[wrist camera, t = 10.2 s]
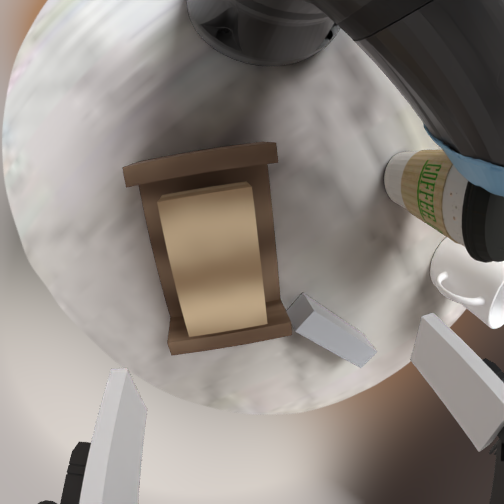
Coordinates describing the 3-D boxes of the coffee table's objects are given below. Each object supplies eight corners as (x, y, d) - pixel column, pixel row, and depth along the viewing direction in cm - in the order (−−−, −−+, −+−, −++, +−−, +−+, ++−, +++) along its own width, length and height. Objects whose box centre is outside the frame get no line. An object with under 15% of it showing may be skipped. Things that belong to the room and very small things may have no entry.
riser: (285, 311, 35) (295, 331, 31) (302, 292, 34) (314, 310, 30) (349, 349, 39) (360, 368, 35) (364, 333, 38) (377, 351, 34)
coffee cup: (355, 192, 30) (463, 236, 17) (395, 118, 28) (508, 124, 14) (409, 234, 34) (502, 286, 20) (443, 168, 32) (541, 195, 18)
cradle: (137, 162, 26) (122, 167, 21) (262, 141, 28) (276, 142, 23) (174, 324, 33) (171, 355, 28) (279, 306, 34) (291, 335, 29)
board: (162, 195, 24) (157, 202, 21) (246, 181, 25) (252, 186, 22) (189, 318, 29) (189, 337, 26) (261, 306, 29) (267, 323, 27)
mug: (406, 293, 37) (460, 343, 26) (419, 232, 34) (486, 270, 23) (461, 285, 39) (512, 323, 28) (474, 232, 36) (533, 263, 25)
